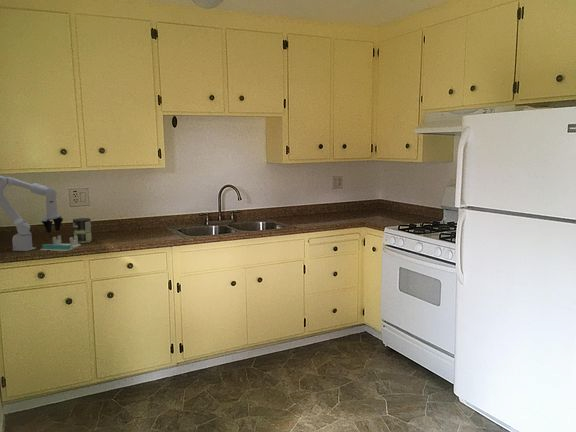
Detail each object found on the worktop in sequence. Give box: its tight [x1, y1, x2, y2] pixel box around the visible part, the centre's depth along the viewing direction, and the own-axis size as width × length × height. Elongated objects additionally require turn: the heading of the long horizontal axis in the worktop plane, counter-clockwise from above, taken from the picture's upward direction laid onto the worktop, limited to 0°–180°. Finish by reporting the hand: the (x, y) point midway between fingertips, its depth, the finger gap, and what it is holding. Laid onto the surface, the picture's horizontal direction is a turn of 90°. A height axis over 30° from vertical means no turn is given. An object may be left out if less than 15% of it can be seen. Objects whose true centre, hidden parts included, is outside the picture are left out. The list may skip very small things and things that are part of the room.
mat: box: [39, 248, 74, 252], centre depth 262 cm, size 17×6×1 cm, turn 81°
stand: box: [52, 235, 82, 249], centre depth 270 cm, size 15×7×6 cm, turn 81°
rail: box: [41, 243, 70, 251], centre depth 262 cm, size 16×2×2 cm, turn 81°
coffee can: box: [72, 217, 93, 244], centre depth 285 cm, size 10×10×14 cm
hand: (53, 231), depth 267 cm, fingers open, 7 cm apart
